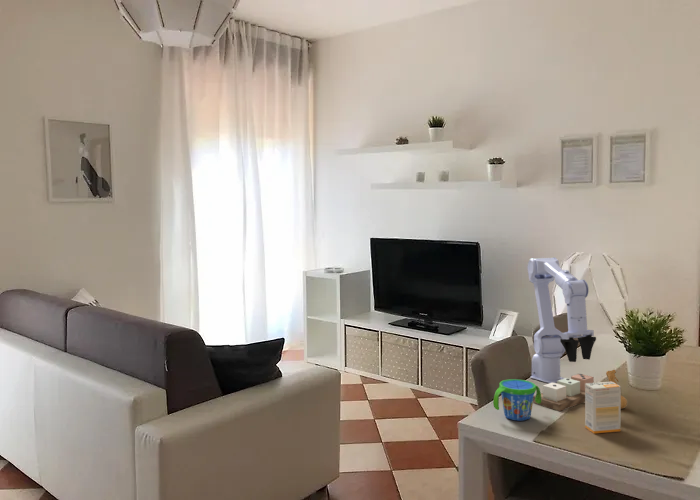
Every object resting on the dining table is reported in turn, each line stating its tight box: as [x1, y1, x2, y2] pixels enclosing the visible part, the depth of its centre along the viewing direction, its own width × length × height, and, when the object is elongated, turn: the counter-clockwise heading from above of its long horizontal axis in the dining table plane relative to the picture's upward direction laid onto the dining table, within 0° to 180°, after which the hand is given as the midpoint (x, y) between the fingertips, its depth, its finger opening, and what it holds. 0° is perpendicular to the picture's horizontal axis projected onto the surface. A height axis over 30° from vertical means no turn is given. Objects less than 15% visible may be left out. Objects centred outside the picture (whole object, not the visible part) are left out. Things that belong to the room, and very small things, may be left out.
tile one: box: [542, 382, 566, 402], centre depth 184 cm, size 5×5×4 cm
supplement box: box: [584, 381, 622, 435], centre depth 163 cm, size 8×5×13 cm, turn 97°
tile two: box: [557, 377, 580, 397], centre depth 189 cm, size 5×5×4 cm
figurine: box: [606, 369, 628, 410], centre depth 179 cm, size 8×6×12 cm
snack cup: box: [492, 378, 542, 422], centre depth 174 cm, size 16×10×10 cm
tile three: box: [570, 373, 595, 392], centre depth 193 cm, size 5×5×4 cm
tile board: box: [533, 391, 585, 412], centre depth 189 cm, size 24×10×2 cm, turn 125°
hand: (579, 360), depth 186 cm, fingers open, 7 cm apart
